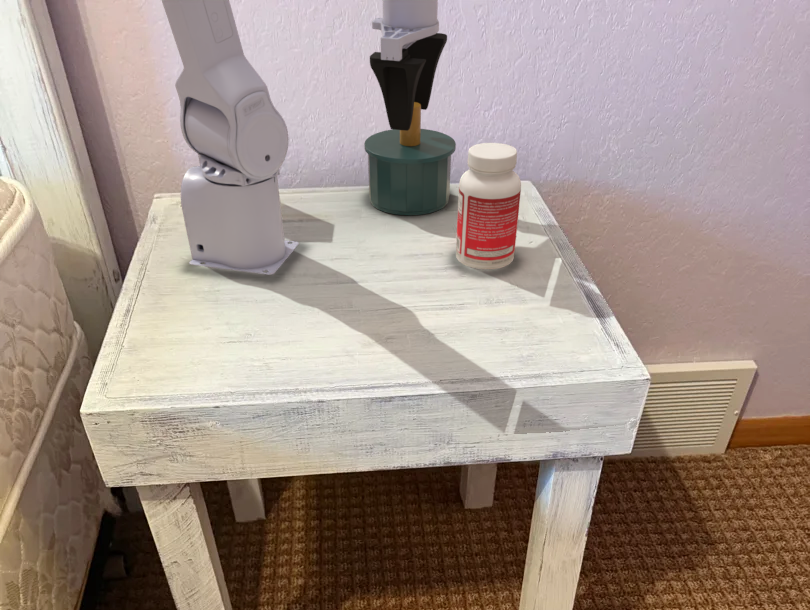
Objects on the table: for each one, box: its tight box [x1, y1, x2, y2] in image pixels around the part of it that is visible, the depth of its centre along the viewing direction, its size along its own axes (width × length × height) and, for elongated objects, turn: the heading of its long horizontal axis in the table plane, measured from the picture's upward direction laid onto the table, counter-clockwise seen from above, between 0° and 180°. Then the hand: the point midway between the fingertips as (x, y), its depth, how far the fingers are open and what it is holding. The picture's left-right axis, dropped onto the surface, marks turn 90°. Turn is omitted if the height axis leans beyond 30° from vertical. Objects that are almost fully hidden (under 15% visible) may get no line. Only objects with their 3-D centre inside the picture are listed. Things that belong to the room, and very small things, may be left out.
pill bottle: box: [455, 142, 522, 270], centre depth 77 cm, size 6×6×11 cm
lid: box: [363, 102, 457, 164], centre depth 87 cm, size 11×11×5 cm
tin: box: [367, 154, 452, 216], centre depth 91 cm, size 10×10×6 cm
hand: (409, 118), depth 86 cm, fingers open, 7 cm apart
